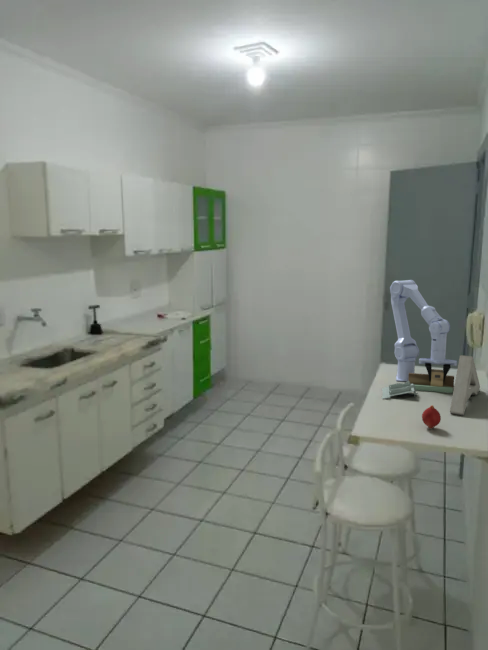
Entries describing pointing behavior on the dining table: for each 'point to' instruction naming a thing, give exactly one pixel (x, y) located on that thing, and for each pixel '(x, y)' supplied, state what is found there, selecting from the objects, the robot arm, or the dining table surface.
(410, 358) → the robot arm
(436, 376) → the cabinet block
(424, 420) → the onion
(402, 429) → the dining table surface
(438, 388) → the cleat ledge
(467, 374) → the white letter a
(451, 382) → the wall board
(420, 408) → the dining table surface
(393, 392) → the metal bracket
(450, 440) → the dining table surface
